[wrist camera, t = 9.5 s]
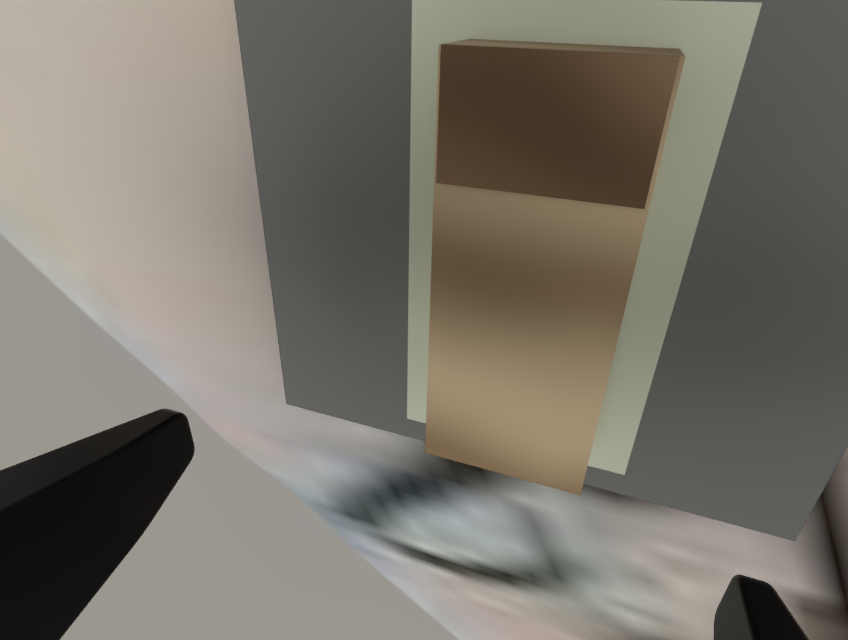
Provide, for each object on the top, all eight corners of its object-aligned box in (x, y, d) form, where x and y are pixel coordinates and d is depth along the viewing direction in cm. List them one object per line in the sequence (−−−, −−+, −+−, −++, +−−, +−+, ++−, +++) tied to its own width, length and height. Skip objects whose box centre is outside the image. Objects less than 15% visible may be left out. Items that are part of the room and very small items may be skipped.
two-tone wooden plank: (588, 441, 19) (580, 499, 16) (448, 406, 20) (423, 455, 18) (679, 48, 13) (686, 56, 10) (469, 39, 14) (436, 44, 12)
